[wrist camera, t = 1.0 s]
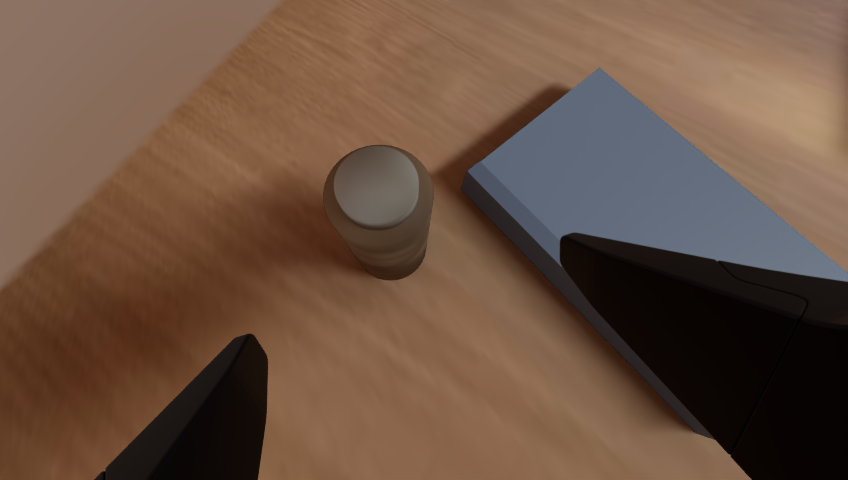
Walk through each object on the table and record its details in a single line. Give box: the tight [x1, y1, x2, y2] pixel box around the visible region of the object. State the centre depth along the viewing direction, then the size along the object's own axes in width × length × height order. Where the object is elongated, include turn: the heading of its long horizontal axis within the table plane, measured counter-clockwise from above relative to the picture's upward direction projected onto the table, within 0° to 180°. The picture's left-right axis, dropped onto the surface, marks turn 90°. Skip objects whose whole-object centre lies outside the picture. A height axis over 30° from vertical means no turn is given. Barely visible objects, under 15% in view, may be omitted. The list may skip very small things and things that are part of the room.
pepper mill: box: [323, 145, 434, 280], centre depth 19 cm, size 5×5×10 cm
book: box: [461, 68, 848, 440], centre depth 23 cm, size 14×22×3 cm, turn 41°
